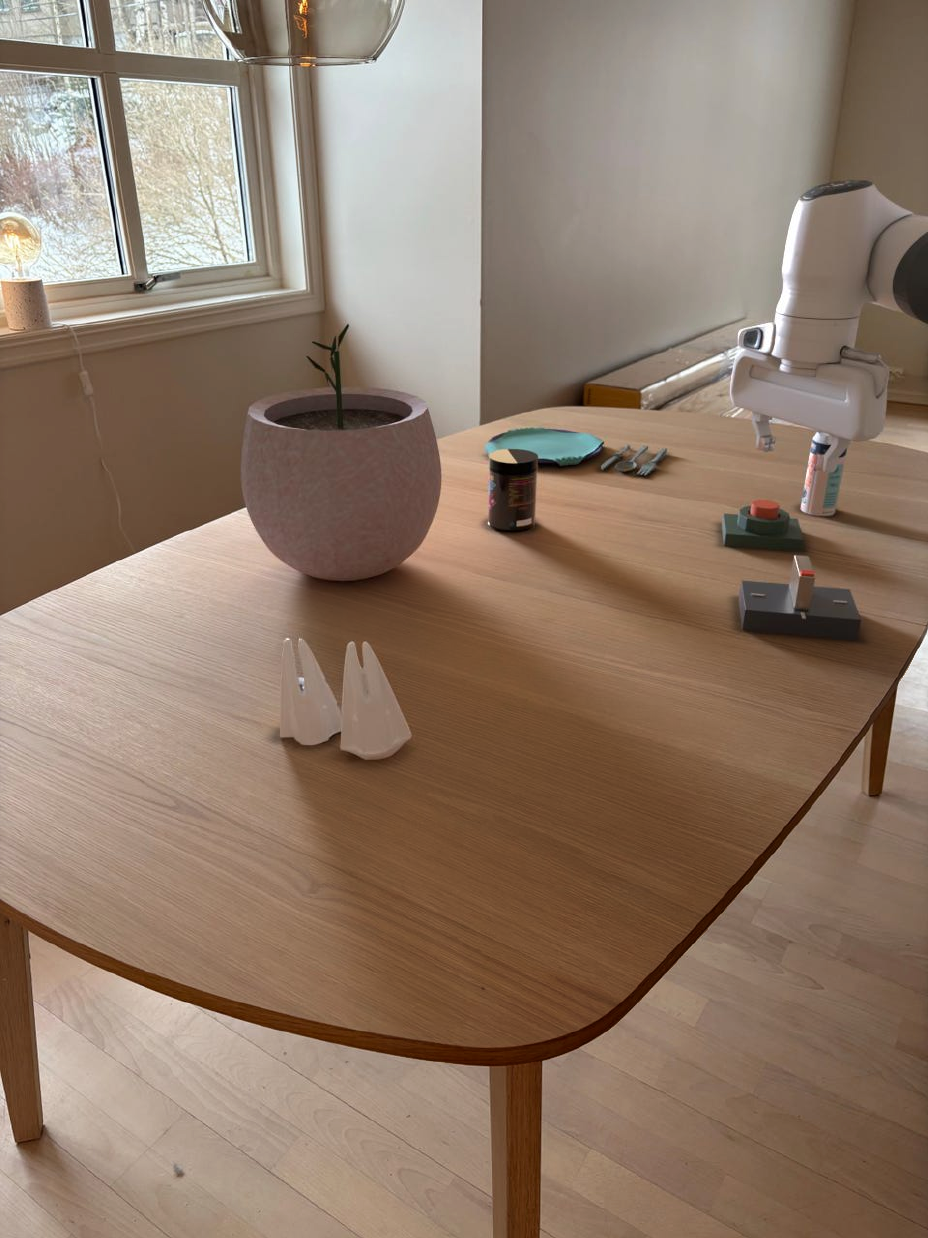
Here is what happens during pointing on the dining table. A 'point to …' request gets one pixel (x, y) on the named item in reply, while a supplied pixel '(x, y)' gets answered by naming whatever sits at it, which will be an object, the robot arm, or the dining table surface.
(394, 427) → the plant pot
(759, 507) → the button
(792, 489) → the dining table surface
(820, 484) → the beer can
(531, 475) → the supplement container
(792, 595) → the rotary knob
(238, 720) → the dining table surface
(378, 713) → the shaker set
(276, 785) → the dining table surface
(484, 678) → the dining table surface
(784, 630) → the panel
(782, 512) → the button block
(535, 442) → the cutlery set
